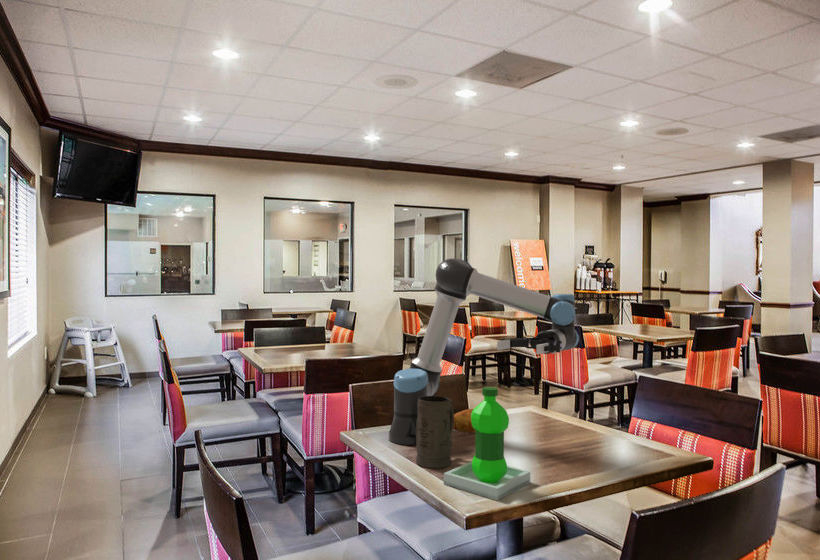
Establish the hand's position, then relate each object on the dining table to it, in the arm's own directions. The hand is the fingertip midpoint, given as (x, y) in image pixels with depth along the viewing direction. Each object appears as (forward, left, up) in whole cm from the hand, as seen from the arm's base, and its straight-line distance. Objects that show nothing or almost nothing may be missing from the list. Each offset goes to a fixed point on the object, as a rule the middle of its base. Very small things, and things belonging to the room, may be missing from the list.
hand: (517, 347), depth 174 cm
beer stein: (-19, -15, -35) cm, 43 cm away
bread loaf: (-33, +24, -35) cm, 54 cm away
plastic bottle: (+3, -20, -34) cm, 40 cm away
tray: (+3, -21, -35) cm, 41 cm away
